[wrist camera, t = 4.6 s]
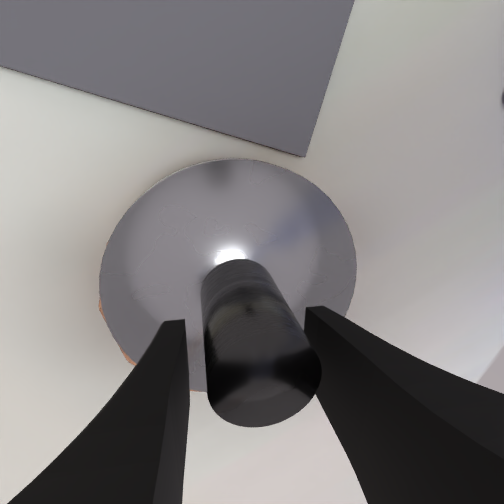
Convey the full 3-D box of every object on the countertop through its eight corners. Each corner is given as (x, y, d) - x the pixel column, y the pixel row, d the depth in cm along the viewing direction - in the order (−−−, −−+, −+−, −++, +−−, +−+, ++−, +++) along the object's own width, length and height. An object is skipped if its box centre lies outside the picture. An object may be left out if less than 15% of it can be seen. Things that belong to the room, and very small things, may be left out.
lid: (358, 153, 11) (490, 167, 6) (336, 361, 15) (410, 473, 10) (77, 163, 9) (-41, 192, 5) (129, 394, 13) (92, 550, 8)
